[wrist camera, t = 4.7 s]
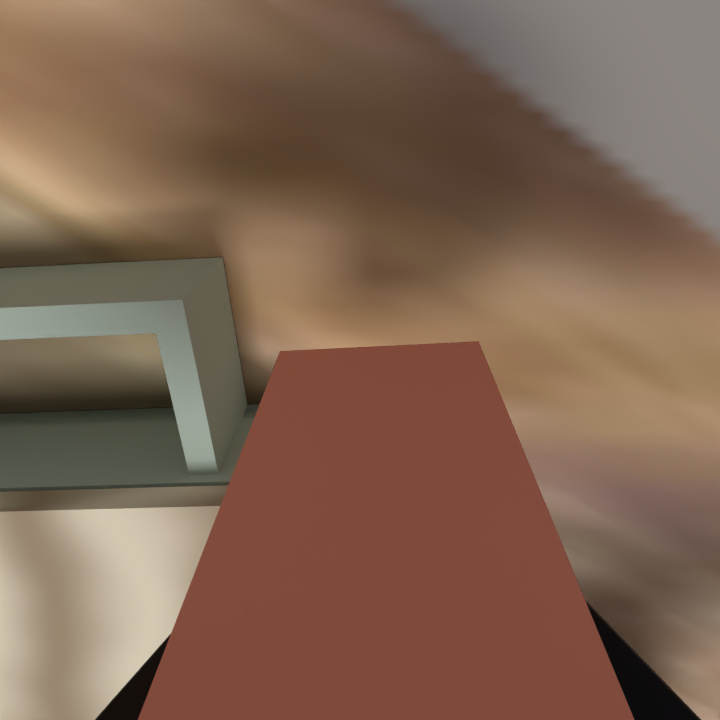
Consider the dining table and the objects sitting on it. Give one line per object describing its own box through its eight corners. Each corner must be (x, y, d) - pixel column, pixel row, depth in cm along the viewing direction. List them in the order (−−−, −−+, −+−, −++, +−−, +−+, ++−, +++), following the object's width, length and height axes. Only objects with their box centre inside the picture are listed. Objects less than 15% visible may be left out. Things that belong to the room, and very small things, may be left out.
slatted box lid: (274, 484, 18) (259, 542, 16) (325, 817, 27) (320, 887, 24) (-248, 498, 19) (-338, 556, 16) (-34, 816, 27) (-73, 883, 25)
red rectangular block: (478, 341, 12) (684, 842, 4) (474, 500, 14) (607, 1059, 6) (280, 351, 12) (91, 840, 4) (301, 506, 14) (200, 1052, 6)
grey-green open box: (277, 254, 20) (247, 301, 15) (333, 708, 31) (326, 812, 27) (-196, 277, 21) (-354, 328, 16) (26, 711, 32) (-31, 811, 28)
